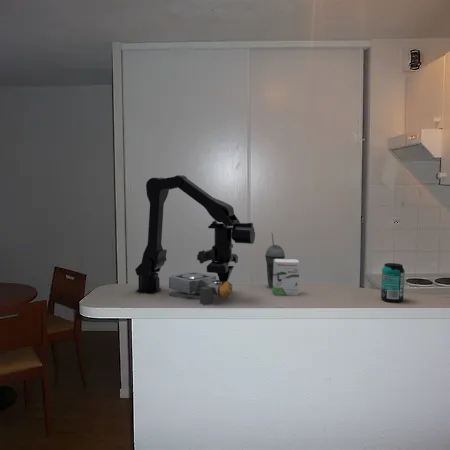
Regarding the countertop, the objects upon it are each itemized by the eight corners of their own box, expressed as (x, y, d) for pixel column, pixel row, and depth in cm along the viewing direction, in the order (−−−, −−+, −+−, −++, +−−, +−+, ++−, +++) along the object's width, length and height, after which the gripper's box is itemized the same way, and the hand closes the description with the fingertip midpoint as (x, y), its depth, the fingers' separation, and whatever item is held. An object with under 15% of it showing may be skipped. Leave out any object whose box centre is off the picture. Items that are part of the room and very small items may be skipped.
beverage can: (396, 297, 170) (398, 262, 168) (407, 302, 163) (409, 266, 161) (377, 298, 168) (378, 262, 167) (387, 303, 162) (388, 266, 160)
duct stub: (169, 295, 169) (169, 278, 168) (183, 288, 180) (183, 271, 179) (201, 299, 165) (202, 281, 164) (214, 291, 176) (215, 274, 175)
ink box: (274, 295, 171) (274, 261, 170) (272, 291, 176) (272, 258, 175) (299, 295, 171) (300, 261, 170) (296, 291, 176) (297, 258, 175)
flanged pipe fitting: (167, 289, 172) (166, 274, 172) (193, 284, 181) (193, 269, 180) (213, 301, 157) (213, 284, 156) (239, 294, 166) (239, 278, 165)
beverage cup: (283, 289, 179) (284, 234, 177) (263, 288, 180) (264, 233, 178) (285, 285, 186) (286, 232, 184) (265, 284, 187) (266, 231, 185)
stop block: (199, 303, 160) (199, 287, 160) (207, 301, 162) (207, 286, 161) (205, 304, 158) (205, 289, 157) (212, 303, 160) (212, 288, 159)
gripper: (207, 236, 176) (207, 279, 178) (191, 245, 158) (191, 293, 160) (238, 238, 173) (238, 281, 175) (225, 247, 155) (225, 296, 157)
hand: (223, 288), depth 167 cm, fingers closed
